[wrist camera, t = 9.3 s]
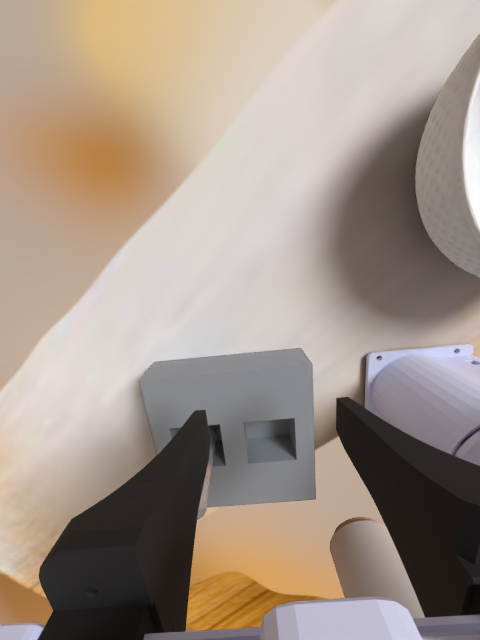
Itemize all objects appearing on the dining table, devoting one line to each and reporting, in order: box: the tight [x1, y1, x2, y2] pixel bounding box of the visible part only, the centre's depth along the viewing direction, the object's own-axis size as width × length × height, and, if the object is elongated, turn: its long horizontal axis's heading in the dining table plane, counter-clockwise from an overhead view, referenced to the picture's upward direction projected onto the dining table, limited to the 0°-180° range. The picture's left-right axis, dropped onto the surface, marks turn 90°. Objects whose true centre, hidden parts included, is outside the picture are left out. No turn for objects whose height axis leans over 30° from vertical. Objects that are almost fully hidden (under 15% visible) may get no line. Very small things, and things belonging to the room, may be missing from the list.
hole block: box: [139, 348, 316, 507], centre depth 22 cm, size 14×14×4 cm
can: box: [330, 517, 425, 618], centre depth 22 cm, size 8×8×12 cm
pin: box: [197, 425, 218, 520], centre depth 19 cm, size 3×3×8 cm
